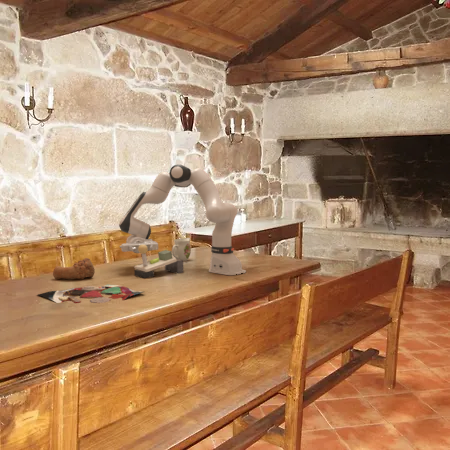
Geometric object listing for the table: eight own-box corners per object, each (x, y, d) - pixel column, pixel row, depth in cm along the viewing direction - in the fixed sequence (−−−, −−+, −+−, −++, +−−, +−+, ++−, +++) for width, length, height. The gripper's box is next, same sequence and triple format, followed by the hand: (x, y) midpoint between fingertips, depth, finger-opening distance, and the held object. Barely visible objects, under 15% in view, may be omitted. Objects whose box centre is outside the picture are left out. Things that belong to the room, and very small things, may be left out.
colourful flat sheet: (102, 283, 238) (102, 280, 238) (145, 296, 215) (145, 292, 215) (36, 296, 212) (36, 292, 212) (78, 312, 189) (78, 307, 189)
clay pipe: (85, 289, 239) (101, 274, 252) (81, 270, 235) (97, 257, 248) (54, 285, 245) (71, 271, 258) (50, 267, 241) (67, 254, 254)
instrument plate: (164, 258, 269) (160, 235, 266) (176, 261, 261) (173, 238, 258) (134, 268, 257) (130, 245, 254) (146, 272, 248) (142, 247, 245)
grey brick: (183, 272, 264) (183, 260, 264) (145, 278, 248) (145, 265, 247) (170, 269, 273) (170, 257, 272) (133, 274, 257) (133, 262, 256)
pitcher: (165, 261, 296) (165, 240, 294) (182, 257, 311) (182, 237, 309) (179, 263, 290) (179, 241, 288) (196, 259, 305) (196, 238, 304)
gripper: (118, 240, 262) (123, 244, 249) (154, 238, 269) (160, 242, 257) (119, 251, 262) (123, 255, 250) (154, 249, 270) (160, 253, 257)
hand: (142, 248), depth 253 cm, fingers open, 8 cm apart
